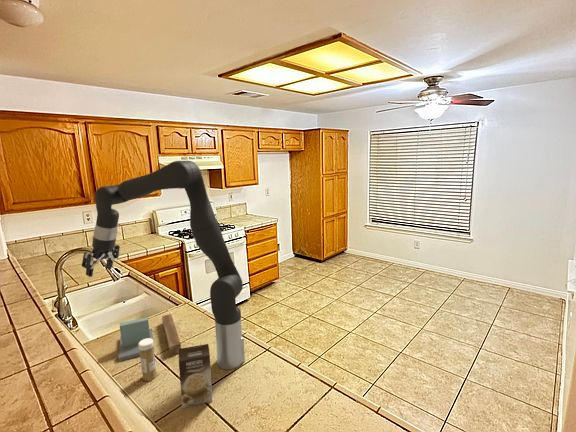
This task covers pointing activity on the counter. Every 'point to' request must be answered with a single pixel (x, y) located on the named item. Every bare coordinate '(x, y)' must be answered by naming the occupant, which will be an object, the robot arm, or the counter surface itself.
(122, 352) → the ridge stand
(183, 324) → the counter surface
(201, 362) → the coffee box
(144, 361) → the sprinkles bottle
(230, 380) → the counter surface
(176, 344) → the walnut bar
